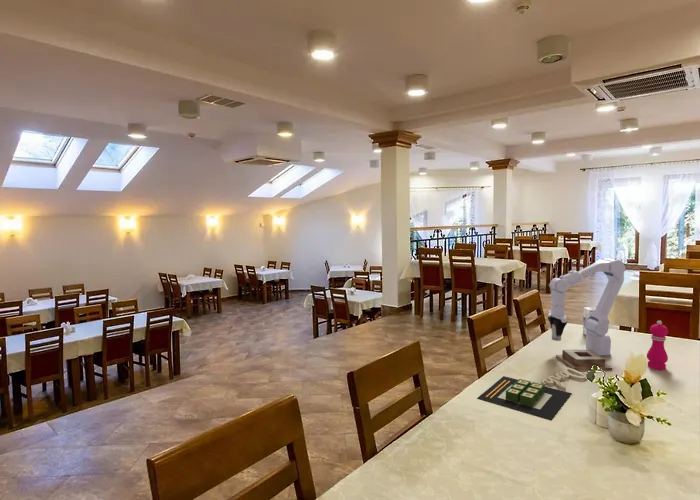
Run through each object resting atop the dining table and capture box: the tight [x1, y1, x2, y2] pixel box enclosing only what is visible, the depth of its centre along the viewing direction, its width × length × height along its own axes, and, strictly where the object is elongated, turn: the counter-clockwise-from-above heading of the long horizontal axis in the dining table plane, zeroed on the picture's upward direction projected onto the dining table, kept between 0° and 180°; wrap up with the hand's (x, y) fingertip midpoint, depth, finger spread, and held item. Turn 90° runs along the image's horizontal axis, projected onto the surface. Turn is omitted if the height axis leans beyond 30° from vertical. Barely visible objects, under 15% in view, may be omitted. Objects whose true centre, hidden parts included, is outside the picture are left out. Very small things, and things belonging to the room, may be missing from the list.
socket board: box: [555, 349, 613, 371], centre depth 186 cm, size 16×16×4 cm
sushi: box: [476, 375, 573, 421], centre depth 155 cm, size 25×25×4 cm
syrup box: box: [582, 306, 596, 336], centre depth 223 cm, size 6×6×14 cm
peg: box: [551, 323, 562, 342], centre depth 197 cm, size 4×4×7 cm
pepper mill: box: [646, 320, 669, 371], centre depth 179 cm, size 7×7×20 cm
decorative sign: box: [540, 366, 587, 391], centre depth 168 cm, size 23×2×10 cm
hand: (556, 333), depth 197 cm, fingers closed on peg, 4 cm apart
